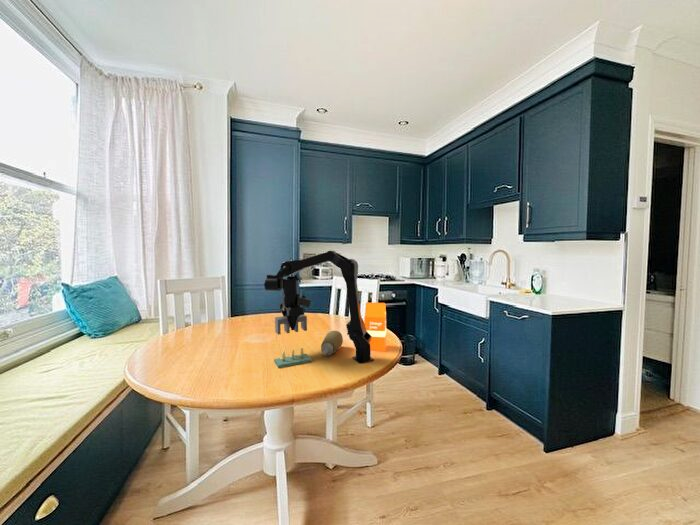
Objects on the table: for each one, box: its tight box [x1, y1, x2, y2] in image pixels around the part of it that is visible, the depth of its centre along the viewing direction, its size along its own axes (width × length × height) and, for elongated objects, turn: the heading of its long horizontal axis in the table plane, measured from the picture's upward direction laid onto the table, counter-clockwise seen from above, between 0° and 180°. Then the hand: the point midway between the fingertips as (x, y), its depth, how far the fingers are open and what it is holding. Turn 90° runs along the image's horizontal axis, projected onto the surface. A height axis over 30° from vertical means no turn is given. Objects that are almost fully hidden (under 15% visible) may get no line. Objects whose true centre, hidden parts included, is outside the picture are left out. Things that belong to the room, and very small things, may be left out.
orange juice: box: [363, 302, 387, 352], centre depth 131 cm, size 8×9×20 cm
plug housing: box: [274, 314, 308, 336], centre depth 124 cm, size 12×5×6 cm, turn 116°
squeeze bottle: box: [320, 330, 344, 356], centre depth 125 cm, size 8×8×18 cm
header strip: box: [273, 347, 313, 369], centre depth 116 cm, size 13×7×4 cm, turn 117°
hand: (291, 328), depth 124 cm, fingers closed on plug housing, 5 cm apart
